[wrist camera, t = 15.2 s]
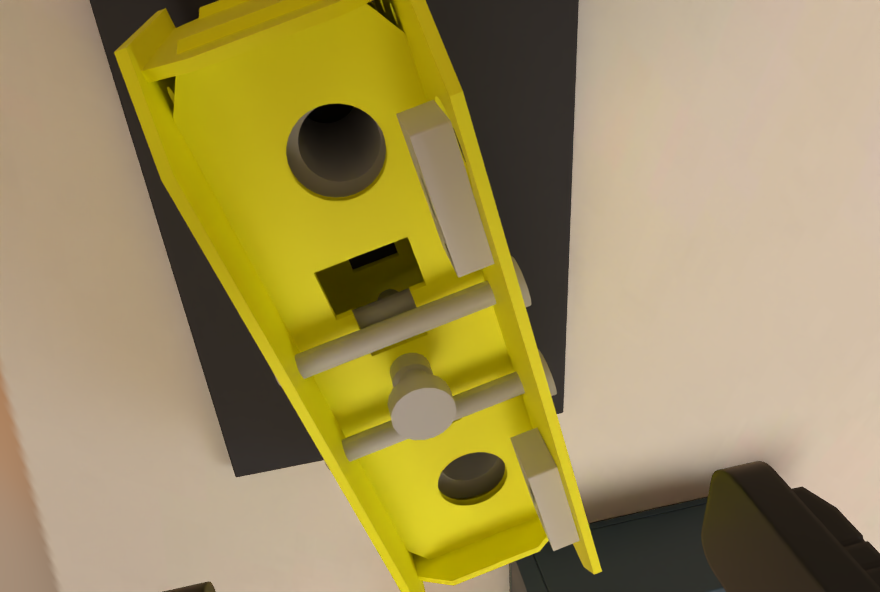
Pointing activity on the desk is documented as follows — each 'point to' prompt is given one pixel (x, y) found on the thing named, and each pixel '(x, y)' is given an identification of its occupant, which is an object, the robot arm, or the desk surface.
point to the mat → (519, 207)
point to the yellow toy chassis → (367, 268)
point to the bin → (628, 556)
